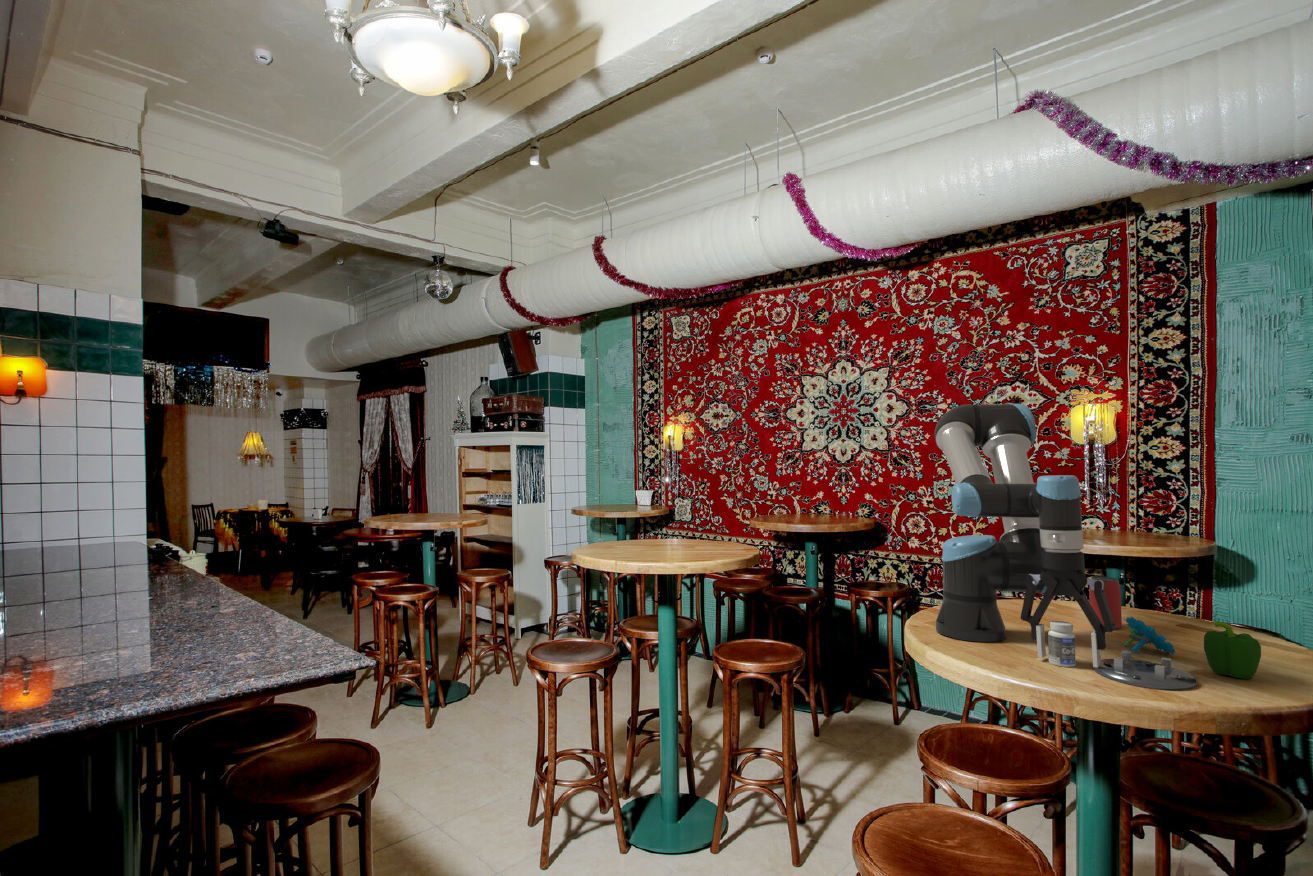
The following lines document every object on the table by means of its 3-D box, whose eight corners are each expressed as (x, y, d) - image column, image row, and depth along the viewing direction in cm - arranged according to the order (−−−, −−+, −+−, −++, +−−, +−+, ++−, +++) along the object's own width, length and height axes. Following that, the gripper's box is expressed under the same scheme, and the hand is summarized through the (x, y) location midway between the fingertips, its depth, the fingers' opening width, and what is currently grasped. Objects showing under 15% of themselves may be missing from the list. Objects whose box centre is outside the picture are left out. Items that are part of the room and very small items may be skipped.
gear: (1187, 653, 135) (1145, 616, 137) (1167, 673, 135) (1125, 636, 137) (1157, 645, 146) (1119, 612, 148) (1138, 664, 146) (1100, 630, 148)
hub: (1083, 675, 126) (1083, 658, 126) (1104, 657, 137) (1104, 642, 138) (1189, 697, 115) (1188, 678, 115) (1202, 675, 126) (1201, 659, 126)
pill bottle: (1065, 668, 130) (1064, 626, 131) (1043, 662, 135) (1042, 621, 135) (1081, 665, 132) (1080, 624, 132) (1058, 659, 137) (1057, 619, 137)
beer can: (1084, 622, 166) (1083, 575, 166) (1112, 623, 165) (1111, 576, 166) (1098, 629, 160) (1097, 580, 160) (1127, 630, 159) (1126, 581, 159)
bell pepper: (1268, 677, 125) (1266, 624, 125) (1254, 685, 121) (1252, 631, 121) (1213, 665, 132) (1212, 616, 132) (1197, 672, 128) (1196, 621, 128)
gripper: (998, 548, 139) (1004, 655, 138) (1121, 555, 123) (1129, 676, 122) (1010, 545, 144) (1016, 647, 143) (1130, 551, 129) (1138, 667, 127)
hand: (1068, 660), depth 133 cm, fingers open, 9 cm apart
